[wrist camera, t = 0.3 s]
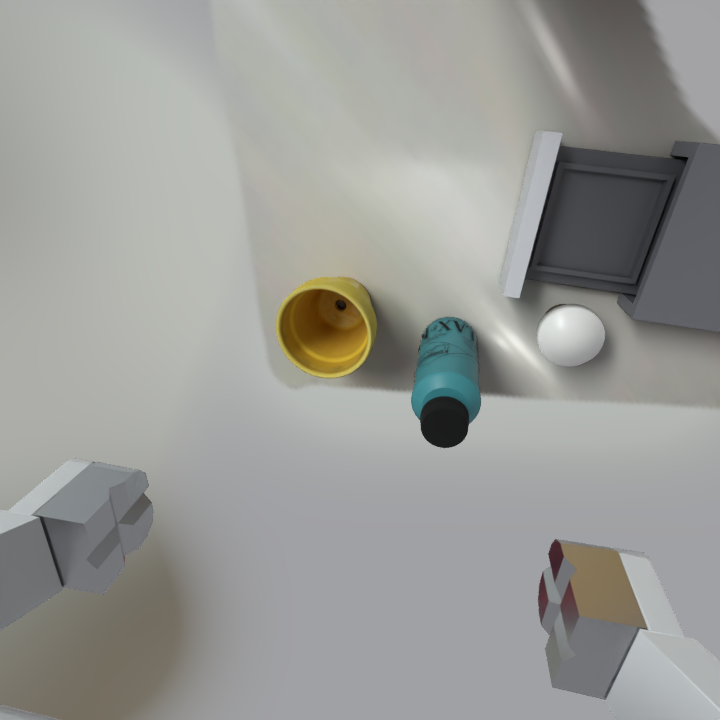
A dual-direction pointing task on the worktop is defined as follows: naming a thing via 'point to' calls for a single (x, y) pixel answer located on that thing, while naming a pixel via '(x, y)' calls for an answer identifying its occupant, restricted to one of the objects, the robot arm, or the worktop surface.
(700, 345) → the worktop surface
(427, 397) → the beverage bottle
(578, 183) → the tray
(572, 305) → the disc
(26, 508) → the robot arm
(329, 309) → the plant pot
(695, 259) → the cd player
